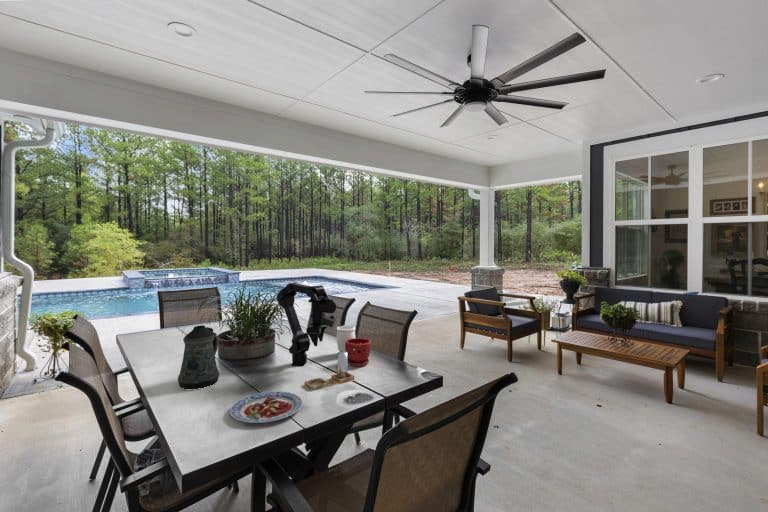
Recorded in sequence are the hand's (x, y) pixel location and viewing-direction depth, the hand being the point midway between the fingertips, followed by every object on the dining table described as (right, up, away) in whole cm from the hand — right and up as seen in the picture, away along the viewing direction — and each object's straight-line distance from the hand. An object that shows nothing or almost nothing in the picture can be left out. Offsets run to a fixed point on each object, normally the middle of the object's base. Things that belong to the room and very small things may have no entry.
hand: (318, 343), depth 183 cm
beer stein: (-51, -14, -14) cm, 54 cm away
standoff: (+13, -13, -13) cm, 22 cm away
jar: (+11, -12, +26) cm, 31 cm away
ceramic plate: (-12, -15, -42) cm, 46 cm away
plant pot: (+19, -13, +10) cm, 25 cm away
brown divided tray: (+8, -14, -17) cm, 23 cm away
